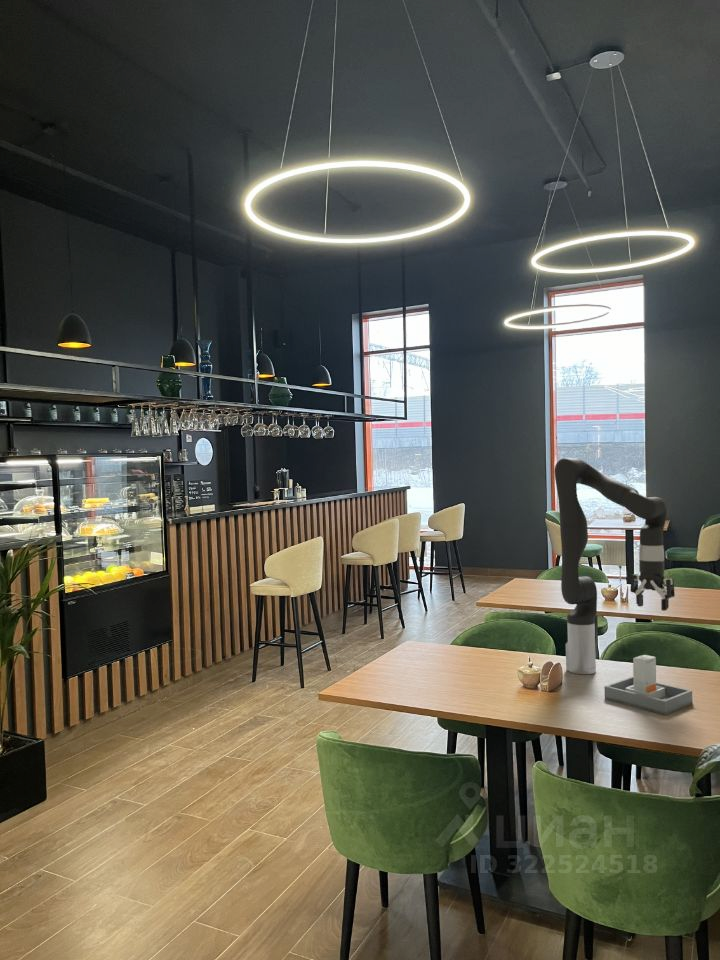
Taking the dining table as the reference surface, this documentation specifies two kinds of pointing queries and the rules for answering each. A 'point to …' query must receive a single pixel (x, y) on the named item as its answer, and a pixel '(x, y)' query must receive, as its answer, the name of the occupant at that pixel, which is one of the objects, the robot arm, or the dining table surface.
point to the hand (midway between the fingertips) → (652, 608)
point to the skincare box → (644, 673)
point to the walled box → (649, 697)
